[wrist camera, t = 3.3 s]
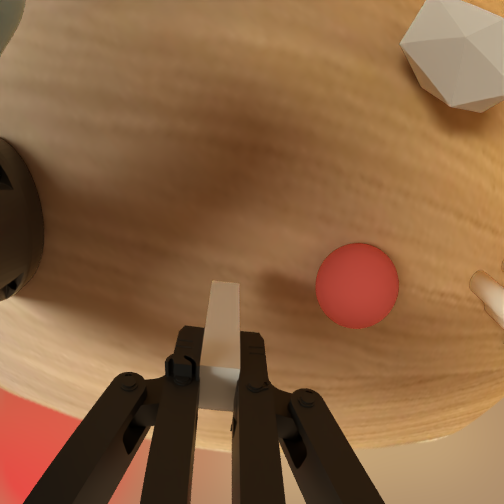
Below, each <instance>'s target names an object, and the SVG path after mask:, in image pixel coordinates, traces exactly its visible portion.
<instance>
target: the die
mask: <svg viewBox="0 0 504 504" xmlns="http://www.w3.org/2000/svg"><path fill="white" fill-rule="evenodd" d="M399 45H400V46H401V48H402V50H403V52H404V54H405V56H406V58H407V60H408V62H409V63H410V65H411V67H412V69H413V72H414V74H415V76H416V78H417V80H418V82H419V84H420V86H421V88H423V89H424V90H426V91H428V92H429V93H431V94H432V95H434V96H435V97H437V98H438V99H440V100H441V101H443V102H444V103H445V104H447V105H448V106H450V107H453V108H459V109H464V110H469V111H474V112H479V113H482V112H484V111H486V110H487V109H489V108H491V107H493V106H494V105H496V104H498V103H500V102H502V101H503V100H504V18H502V17H500V16H498V15H496V14H493V13H491V12H489V11H487V10H484V9H482V8H479V7H477V6H475V5H472V4H469V3H467V2H464V1H461V0H426V1H425V3H424V4H423V6H422V8H421V9H420V11H419V13H418V14H417V16H416V17H415V19H414V21H413V22H412V24H411V26H410V27H409V29H408V31H407V32H406V34H405V35H404V37H403V39H402V40H401V42H400V44H399Z"/></svg>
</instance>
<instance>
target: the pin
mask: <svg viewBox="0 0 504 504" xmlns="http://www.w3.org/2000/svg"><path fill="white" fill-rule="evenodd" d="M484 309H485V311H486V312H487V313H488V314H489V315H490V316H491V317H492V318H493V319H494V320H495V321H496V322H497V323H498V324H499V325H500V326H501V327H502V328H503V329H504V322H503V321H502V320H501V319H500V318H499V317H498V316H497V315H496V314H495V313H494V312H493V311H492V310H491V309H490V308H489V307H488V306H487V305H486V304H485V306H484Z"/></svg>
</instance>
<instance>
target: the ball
mask: <svg viewBox="0 0 504 504" xmlns="http://www.w3.org/2000/svg"><path fill="white" fill-rule="evenodd" d="M398 291H399V280H398V275H397V271H396V269H395V266H394V264H393V263H392V261H391V260H390V258H389V257H388V256H387V255H386V254H385V253H383V252H382V251H381V250H380V249H378V248H376V247H374V246H371V245H368V244H363V243H353V244H348V245H345V246H342V247H340V248H338V249H336V250H335V251H333V252H332V253H331V254H330V255H329V256H328V257H327V258H326V259H325V260H324V262H323V263H322V265H321V267H320V269H319V271H318V274H317V278H316V296H317V299H318V302H319V305H320V307H321V309H322V310H323V312H324V313H325V314H326V315H327V316H328V317H329V318H330V319H331V320H332V321H334V322H335V323H337V324H338V325H341V326H343V327H347V328H353V329H360V328H366V327H370V326H372V325H374V324H376V323H378V322H380V321H381V320H382V319H384V318H385V317H386V316H387V315H388V314H389V312H390V311H391V309H392V308H393V306H394V304H395V302H396V299H397V296H398Z"/></svg>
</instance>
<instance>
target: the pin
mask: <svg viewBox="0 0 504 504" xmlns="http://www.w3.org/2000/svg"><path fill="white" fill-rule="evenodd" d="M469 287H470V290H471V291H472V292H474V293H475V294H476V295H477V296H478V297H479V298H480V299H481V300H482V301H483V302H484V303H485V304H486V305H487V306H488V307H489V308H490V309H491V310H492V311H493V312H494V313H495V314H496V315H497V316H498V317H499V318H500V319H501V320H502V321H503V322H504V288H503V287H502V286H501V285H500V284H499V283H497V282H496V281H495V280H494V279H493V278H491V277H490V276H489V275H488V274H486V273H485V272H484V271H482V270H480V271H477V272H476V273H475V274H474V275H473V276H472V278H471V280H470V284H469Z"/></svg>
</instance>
